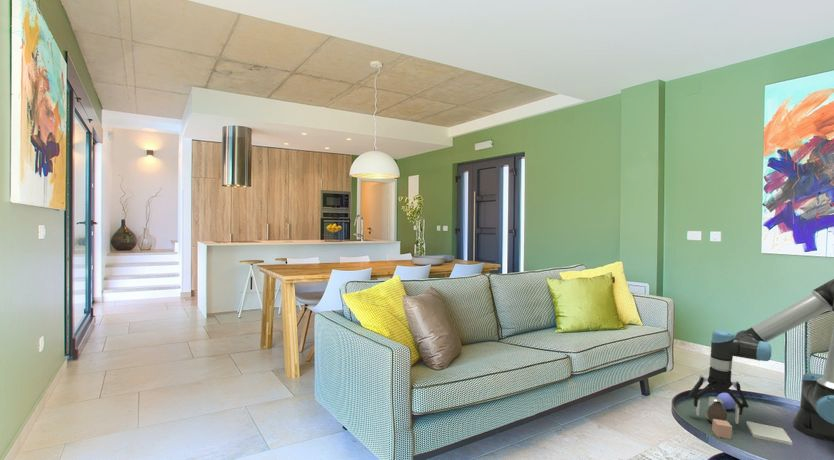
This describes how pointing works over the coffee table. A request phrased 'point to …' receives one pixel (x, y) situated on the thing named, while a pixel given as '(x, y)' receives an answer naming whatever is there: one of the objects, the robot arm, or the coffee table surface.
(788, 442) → the board
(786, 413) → the coffee table surface
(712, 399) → the metal tin
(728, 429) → the terracotta block
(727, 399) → the sphere
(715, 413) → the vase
